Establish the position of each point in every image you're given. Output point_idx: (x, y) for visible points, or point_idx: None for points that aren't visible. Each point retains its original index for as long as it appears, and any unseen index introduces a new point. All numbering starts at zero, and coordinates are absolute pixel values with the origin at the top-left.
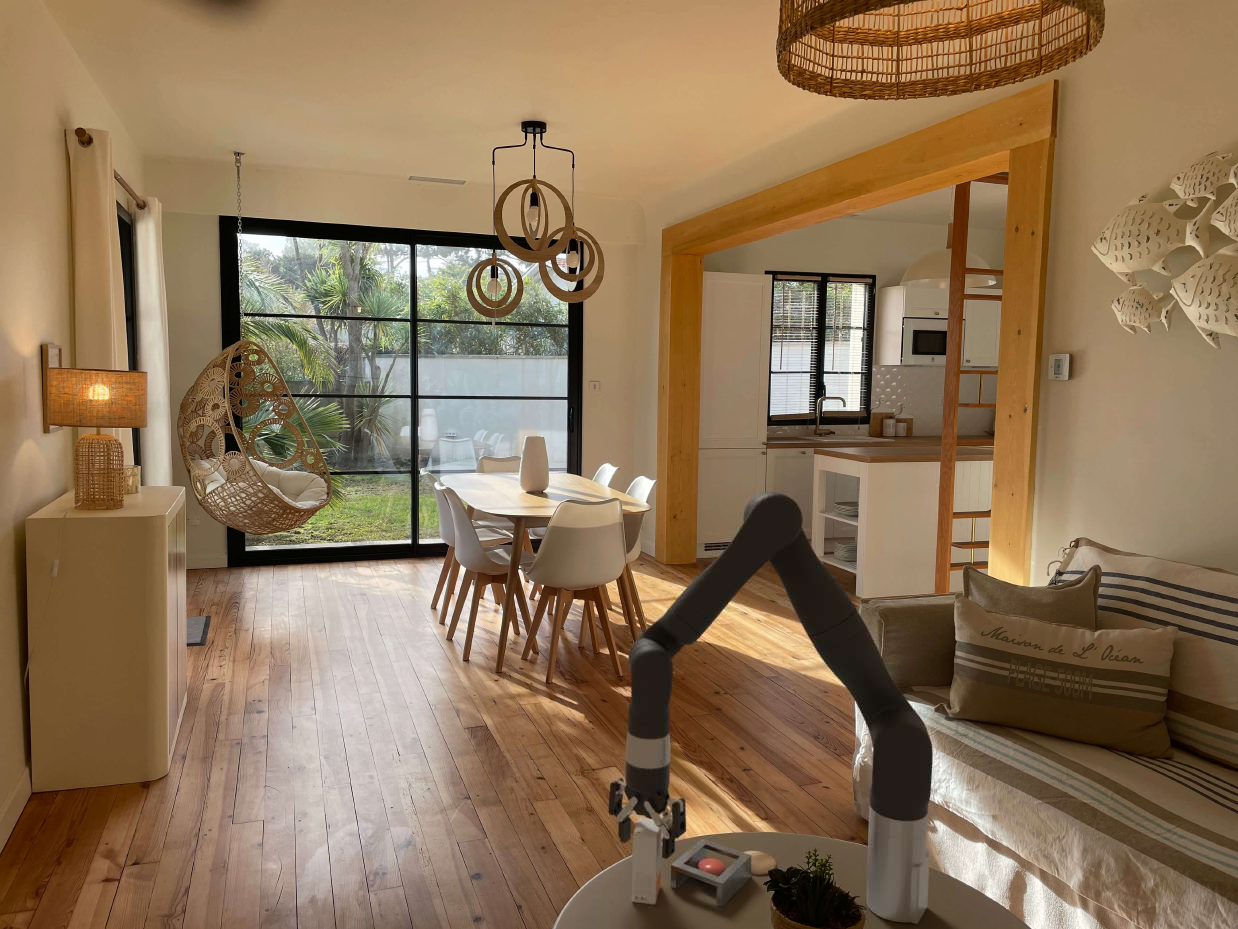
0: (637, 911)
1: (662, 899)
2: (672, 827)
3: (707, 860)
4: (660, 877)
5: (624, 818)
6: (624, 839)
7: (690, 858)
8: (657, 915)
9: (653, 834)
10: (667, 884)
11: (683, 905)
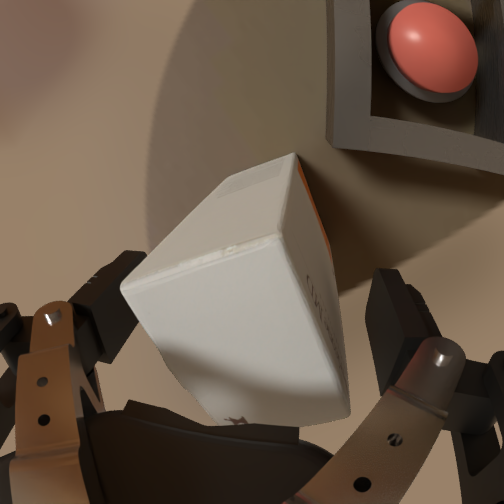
0: None
1: (334, 209)
2: (457, 463)
3: (409, 19)
4: (298, 164)
5: (98, 385)
6: None
7: (370, 56)
8: (353, 277)
9: (324, 412)
10: (308, 130)
11: (398, 205)
